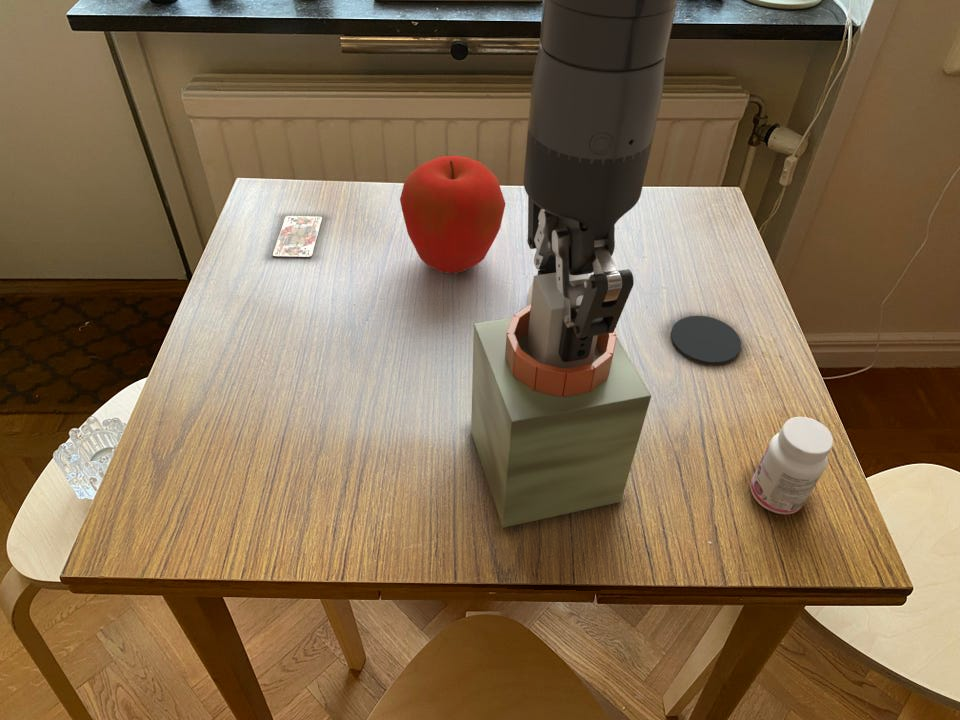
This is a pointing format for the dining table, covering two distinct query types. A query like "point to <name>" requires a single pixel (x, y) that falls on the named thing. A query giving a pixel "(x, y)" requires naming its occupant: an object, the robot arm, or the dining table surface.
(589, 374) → the segmented terracotta ring
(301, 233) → the playing card
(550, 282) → the block
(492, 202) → the apple
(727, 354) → the coaster
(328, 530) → the dining table surface
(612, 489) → the stand
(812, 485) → the pill bottle
